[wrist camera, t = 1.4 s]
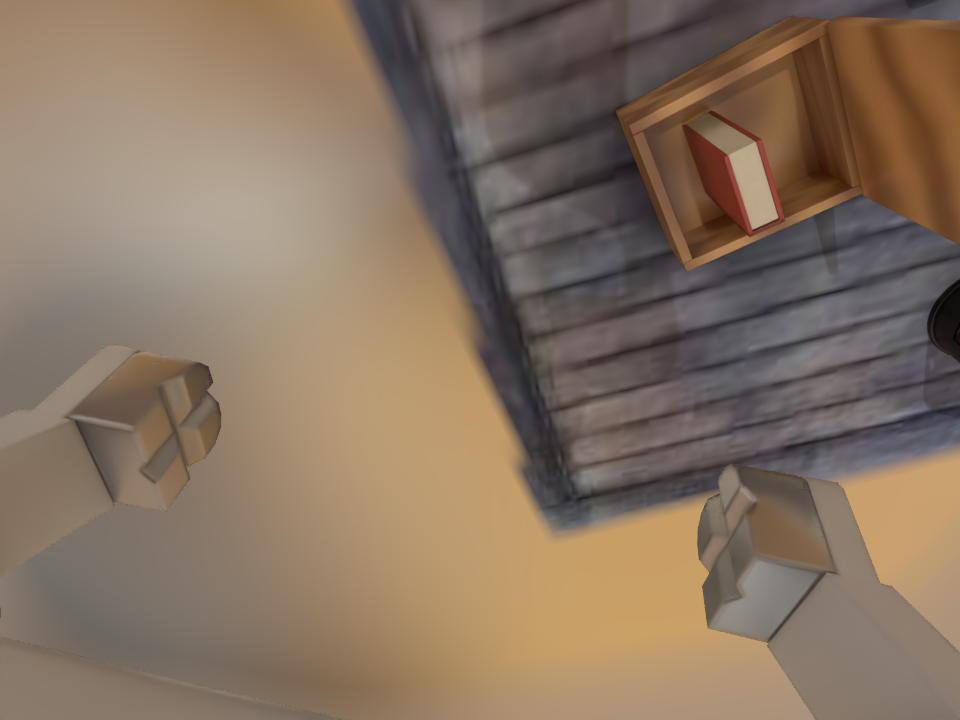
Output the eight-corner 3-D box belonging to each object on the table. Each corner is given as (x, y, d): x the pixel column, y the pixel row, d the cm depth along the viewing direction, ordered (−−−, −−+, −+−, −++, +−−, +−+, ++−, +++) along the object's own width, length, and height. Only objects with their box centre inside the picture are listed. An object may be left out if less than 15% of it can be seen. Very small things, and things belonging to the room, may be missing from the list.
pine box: (668, 244, 53) (686, 272, 48) (615, 110, 47) (628, 125, 42) (828, 171, 49) (866, 192, 44) (790, 15, 43) (829, 19, 38)
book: (705, 192, 50) (749, 237, 41) (681, 125, 47) (723, 157, 38) (734, 179, 49) (785, 221, 40) (711, 109, 46) (761, 138, 37)
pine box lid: (1014, 272, 31) (1031, 266, 31) (991, 32, 26) (1012, 22, 26) (863, 196, 44) (875, 191, 44) (826, 22, 38) (838, 16, 38)
